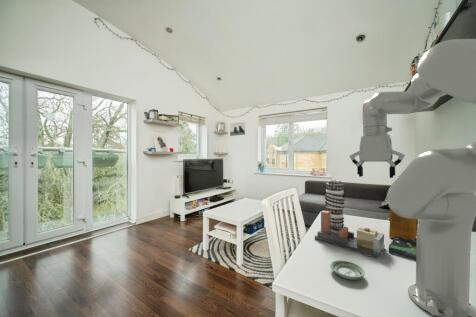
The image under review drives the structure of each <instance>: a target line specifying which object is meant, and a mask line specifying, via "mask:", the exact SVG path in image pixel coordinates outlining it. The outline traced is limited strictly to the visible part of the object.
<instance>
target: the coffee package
mask: <svg viewBox="0 0 476 317" xmlns="http://www.w3.org/2000/svg"><path fill="white" fill-rule="evenodd" d="M388 220H389V227H388V228H389V230H388V237H389V239H394V237H395V236H396V237H401V238H402V239H405V240H407V239H409V240H413V241H415V240H416V239H417V229H418V226H419V219H408V218H403V217H401V216H398V215H397V214H395V213H394V212H393V211H392V210H391V209H390V208H389V219H388Z"/></svg>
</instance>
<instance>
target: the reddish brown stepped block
mask: <svg viewBox="0 0 476 317" xmlns="http://www.w3.org/2000/svg"><path fill="white" fill-rule="evenodd" d="M348 231H349V227H348V226H344V227H343V228H342V229H341V230H339V231H335V230H331V229H330V212H329V211H327V210H322V211H320V232H324V233H328V234H331V235H335V236H338V237H342V238H347V237H348Z"/></svg>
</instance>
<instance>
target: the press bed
mask: <svg viewBox="0 0 476 317" xmlns="http://www.w3.org/2000/svg"><path fill="white" fill-rule="evenodd" d="M330 229H331V230H335V231H339V230H341V229H337V228H333V227H330ZM314 240H317V241H320V242H323V243H327V244H330V245H334V246H336V247H339V248H343V249H345V250H350V251H353V252H355V253H359V254H362V255H365V256H368V257H369V256H370V257H372V258H376V259H379V258H381V256H382V254H383V253H384V251H385V248H386V247H385V233H384V232H383V233H382V232H378V231H377V234H376V236H375V237H374V238H373V249H369V248H366V247H362V246H359V245H357V236H356V237H355V232H352V231H349V230H348V237H347V238H342V237H338V236H335V235H331V234H328V233H324V232H321V230H318V231H317V234H315V235H314Z"/></svg>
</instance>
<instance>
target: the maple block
mask: <svg viewBox="0 0 476 317" xmlns="http://www.w3.org/2000/svg"><path fill="white" fill-rule="evenodd" d="M377 233H378V230H375V229H370V228H369V227H361V226H360V227H359V228H358V229H357V230H356V238H357V245H359V246H362V247H366V248H369V249H373V238H374V237H375V236H376V234H377Z"/></svg>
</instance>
